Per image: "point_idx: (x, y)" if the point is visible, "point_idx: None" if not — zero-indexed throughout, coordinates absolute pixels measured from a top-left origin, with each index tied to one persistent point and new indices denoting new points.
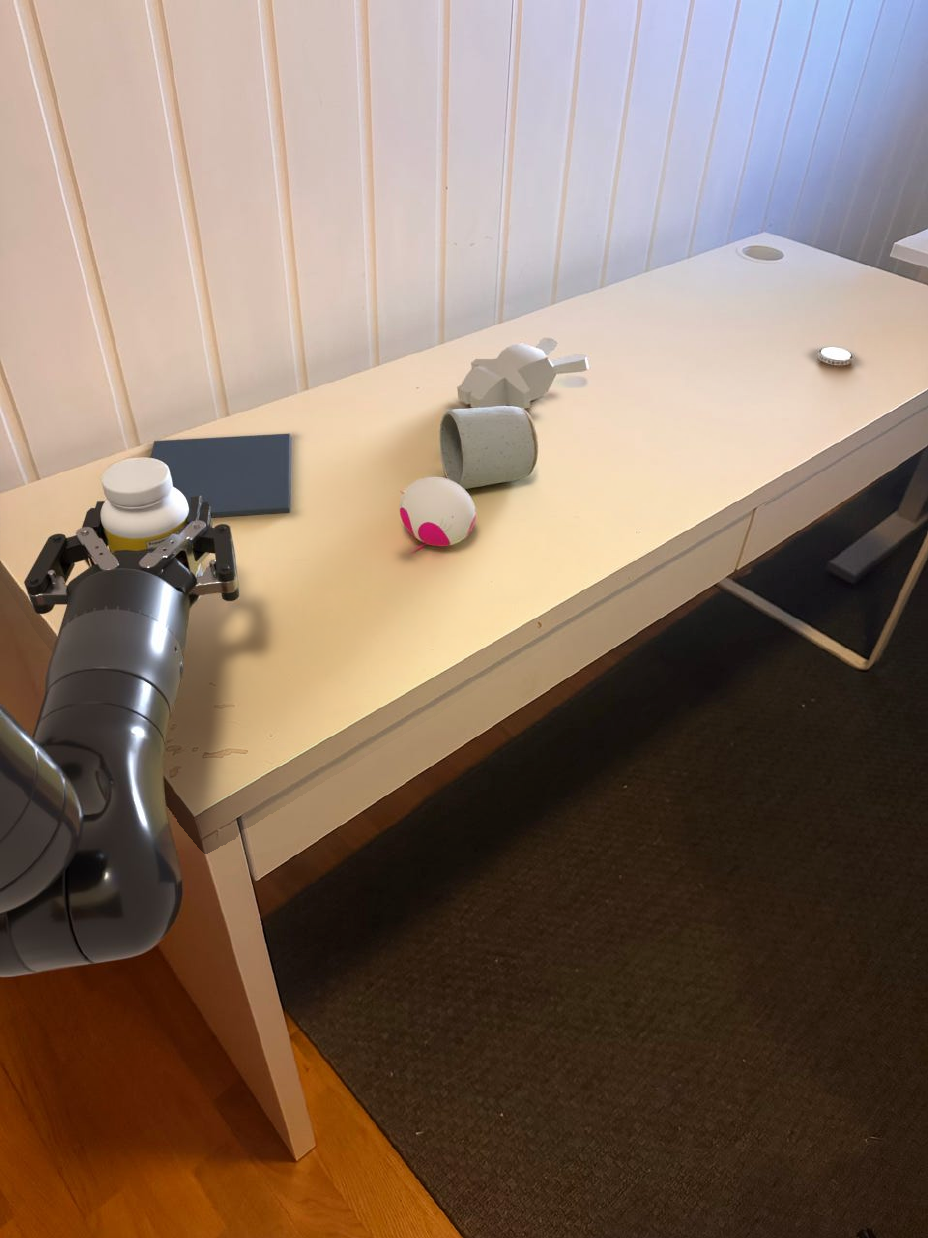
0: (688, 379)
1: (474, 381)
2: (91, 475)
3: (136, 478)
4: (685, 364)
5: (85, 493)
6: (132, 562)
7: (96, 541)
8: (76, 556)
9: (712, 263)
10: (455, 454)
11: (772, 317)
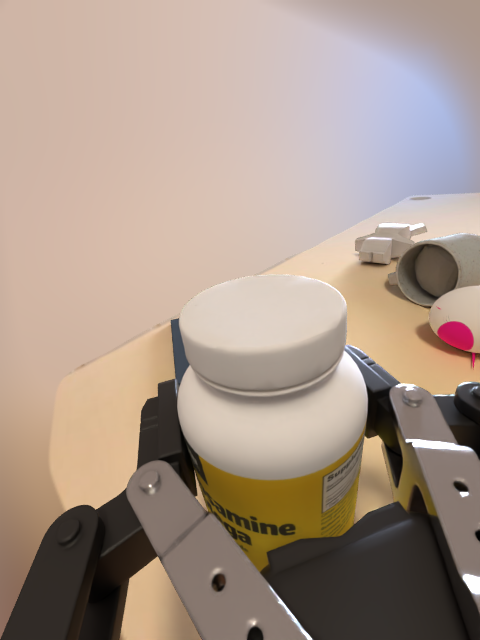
0: (473, 231)
1: (371, 245)
2: (127, 354)
3: (271, 309)
4: (459, 227)
5: (123, 370)
6: (388, 637)
7: (205, 540)
8: (134, 561)
9: (403, 204)
10: (408, 283)
11: (466, 209)
